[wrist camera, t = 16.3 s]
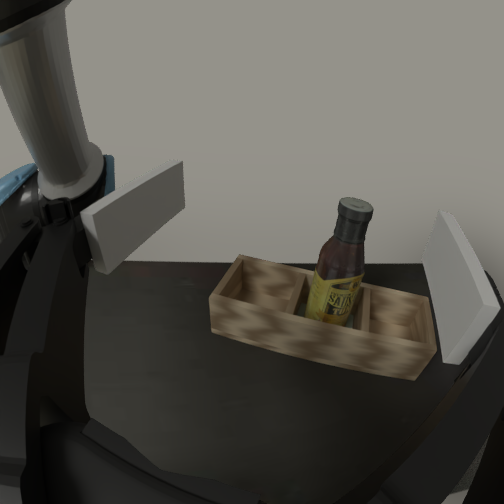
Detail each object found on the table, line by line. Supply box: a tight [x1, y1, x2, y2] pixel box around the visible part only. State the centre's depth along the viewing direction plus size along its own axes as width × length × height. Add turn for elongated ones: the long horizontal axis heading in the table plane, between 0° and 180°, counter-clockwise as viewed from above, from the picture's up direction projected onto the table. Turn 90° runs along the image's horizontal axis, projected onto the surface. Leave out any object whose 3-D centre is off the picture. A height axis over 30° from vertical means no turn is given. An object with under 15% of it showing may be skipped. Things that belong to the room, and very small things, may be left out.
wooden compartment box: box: [209, 255, 437, 381], centre depth 40 cm, size 31×11×7 cm, turn 71°
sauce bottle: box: [304, 197, 373, 327], centre depth 36 cm, size 6×6×20 cm
